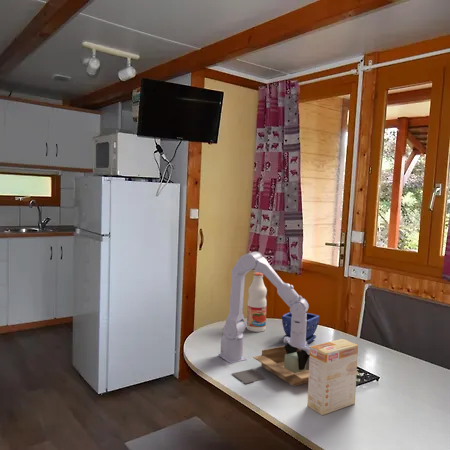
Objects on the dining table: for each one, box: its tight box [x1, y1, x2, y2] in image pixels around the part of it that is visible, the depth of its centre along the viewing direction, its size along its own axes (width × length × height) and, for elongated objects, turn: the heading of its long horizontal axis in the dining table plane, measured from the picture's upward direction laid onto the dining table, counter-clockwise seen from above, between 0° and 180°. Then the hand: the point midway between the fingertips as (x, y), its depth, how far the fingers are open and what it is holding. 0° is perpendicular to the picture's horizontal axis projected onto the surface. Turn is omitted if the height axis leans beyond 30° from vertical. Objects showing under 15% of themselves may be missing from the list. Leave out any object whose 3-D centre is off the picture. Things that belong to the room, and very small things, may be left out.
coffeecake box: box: [307, 338, 359, 416], centre depth 133 cm, size 15×7×20 cm, turn 123°
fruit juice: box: [246, 272, 268, 333], centre depth 207 cm, size 9×9×28 cm
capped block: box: [284, 352, 310, 373], centre depth 159 cm, size 5×8×6 cm, turn 121°
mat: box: [231, 368, 267, 385], centre depth 153 cm, size 9×9×1 cm
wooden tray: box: [253, 345, 309, 387], centre depth 156 cm, size 23×23×6 cm
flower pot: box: [281, 312, 320, 344], centre depth 193 cm, size 13×13×12 cm
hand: (296, 366), depth 159 cm, fingers closed on capped block, 5 cm apart
